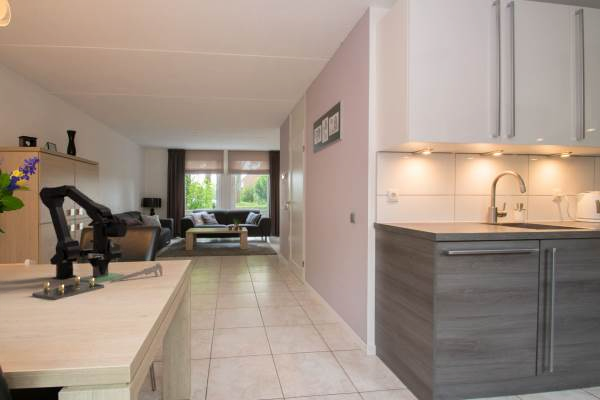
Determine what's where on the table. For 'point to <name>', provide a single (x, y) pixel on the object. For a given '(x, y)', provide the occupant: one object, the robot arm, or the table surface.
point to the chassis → (67, 289)
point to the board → (103, 279)
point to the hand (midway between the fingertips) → (100, 274)
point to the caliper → (145, 271)
